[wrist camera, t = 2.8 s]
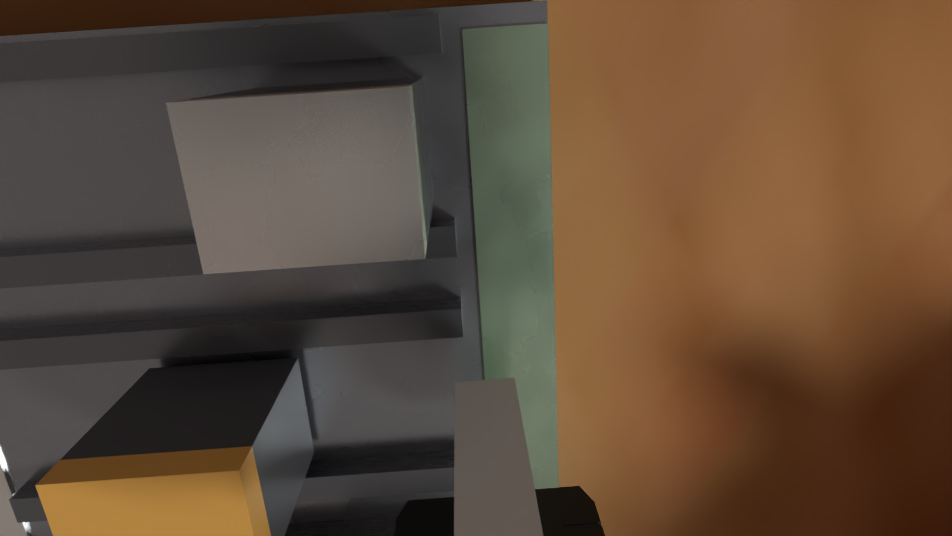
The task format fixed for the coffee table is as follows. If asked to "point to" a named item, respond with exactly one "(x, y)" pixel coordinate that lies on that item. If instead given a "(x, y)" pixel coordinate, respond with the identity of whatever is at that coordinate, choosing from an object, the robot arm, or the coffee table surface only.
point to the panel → (146, 193)
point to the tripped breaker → (189, 456)
